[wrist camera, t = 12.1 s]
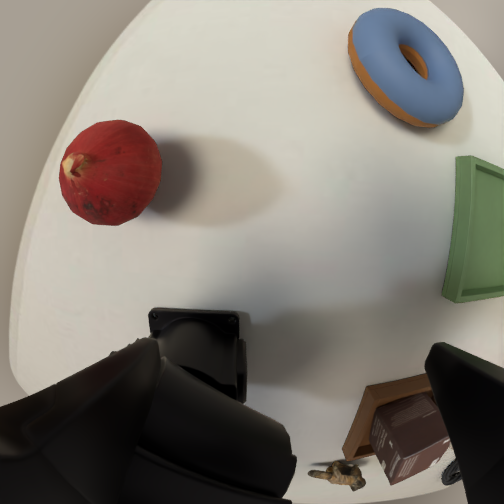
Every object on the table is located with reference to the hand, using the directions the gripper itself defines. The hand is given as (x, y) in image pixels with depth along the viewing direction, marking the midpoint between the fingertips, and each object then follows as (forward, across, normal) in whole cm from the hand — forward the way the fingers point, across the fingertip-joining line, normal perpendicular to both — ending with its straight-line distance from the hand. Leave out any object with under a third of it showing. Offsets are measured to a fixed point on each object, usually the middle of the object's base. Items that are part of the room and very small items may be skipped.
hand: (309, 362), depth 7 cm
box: (+10, -15, +17) cm, 24 cm away
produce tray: (+12, -21, -3) cm, 25 cm away
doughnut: (+13, -8, -15) cm, 21 cm away
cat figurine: (+10, -10, +26) cm, 30 cm away
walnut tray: (+11, -15, +17) cm, 25 cm away
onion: (+11, +10, -5) cm, 16 cm away
